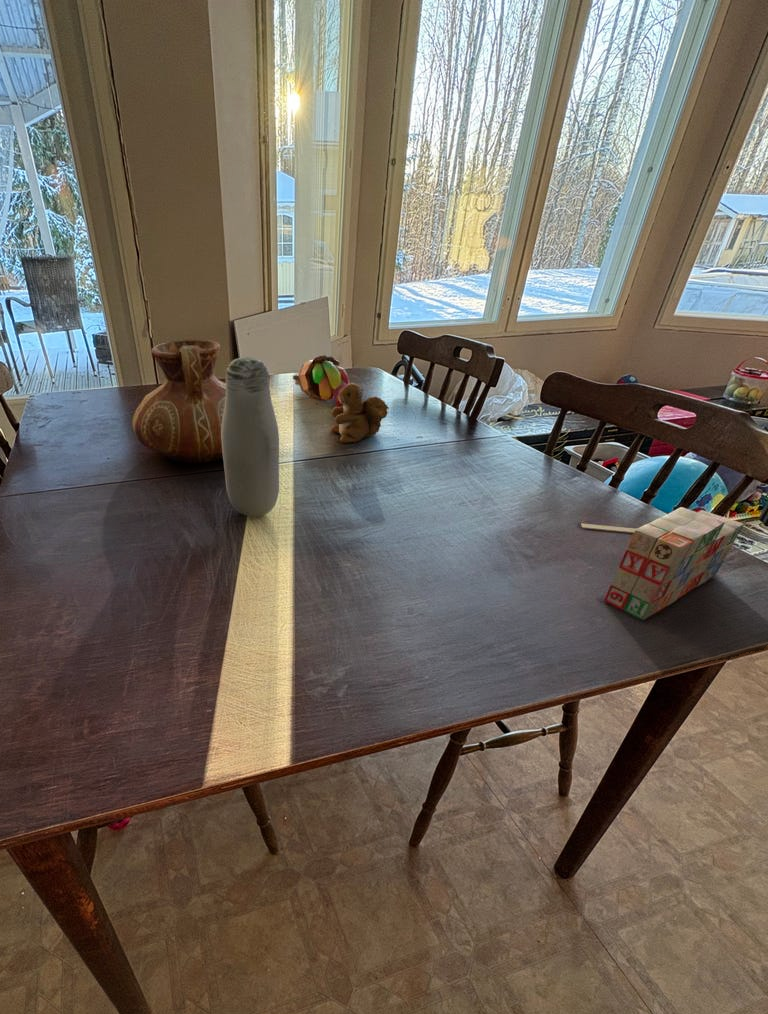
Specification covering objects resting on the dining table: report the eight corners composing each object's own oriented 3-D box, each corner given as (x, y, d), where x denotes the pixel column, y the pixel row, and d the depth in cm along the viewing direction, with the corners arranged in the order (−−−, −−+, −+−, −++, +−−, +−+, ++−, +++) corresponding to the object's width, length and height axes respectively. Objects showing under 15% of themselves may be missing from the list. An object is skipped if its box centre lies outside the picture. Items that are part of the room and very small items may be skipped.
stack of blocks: (676, 559, 90) (711, 490, 82) (715, 576, 86) (757, 505, 78) (602, 601, 81) (635, 528, 73) (643, 621, 77) (681, 546, 69)
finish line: (687, 534, 97) (687, 533, 96) (690, 538, 95) (690, 537, 95) (581, 524, 100) (581, 523, 100) (582, 528, 99) (582, 527, 99)
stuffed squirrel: (328, 431, 144) (329, 379, 136) (379, 429, 145) (383, 376, 137) (334, 444, 136) (336, 389, 128) (387, 441, 137) (393, 386, 129)
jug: (118, 447, 136) (94, 337, 121) (214, 422, 151) (204, 322, 135) (178, 481, 119) (159, 358, 103) (281, 450, 133) (278, 337, 118)
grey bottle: (219, 516, 105) (202, 360, 87) (251, 498, 111) (242, 349, 94) (258, 529, 100) (249, 367, 83) (289, 509, 107) (287, 355, 89)
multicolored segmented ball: (326, 369, 178) (364, 355, 157) (321, 416, 183) (357, 410, 161) (285, 360, 173) (318, 345, 151) (281, 410, 177) (312, 403, 155)
